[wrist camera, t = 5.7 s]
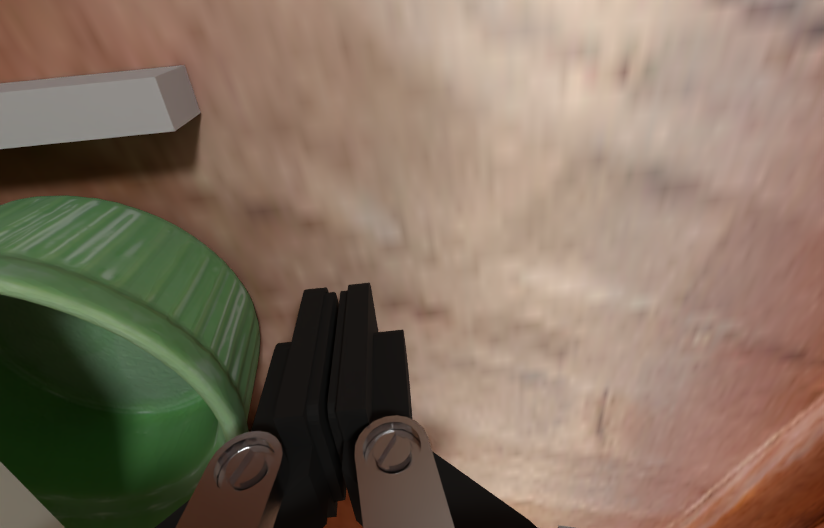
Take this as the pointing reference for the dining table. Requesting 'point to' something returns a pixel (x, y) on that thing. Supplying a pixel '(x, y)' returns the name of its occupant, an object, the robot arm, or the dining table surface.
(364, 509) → the robot arm
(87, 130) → the overhang shelf
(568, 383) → the dining table surface
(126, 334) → the ramekin
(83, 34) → the dining table surface
